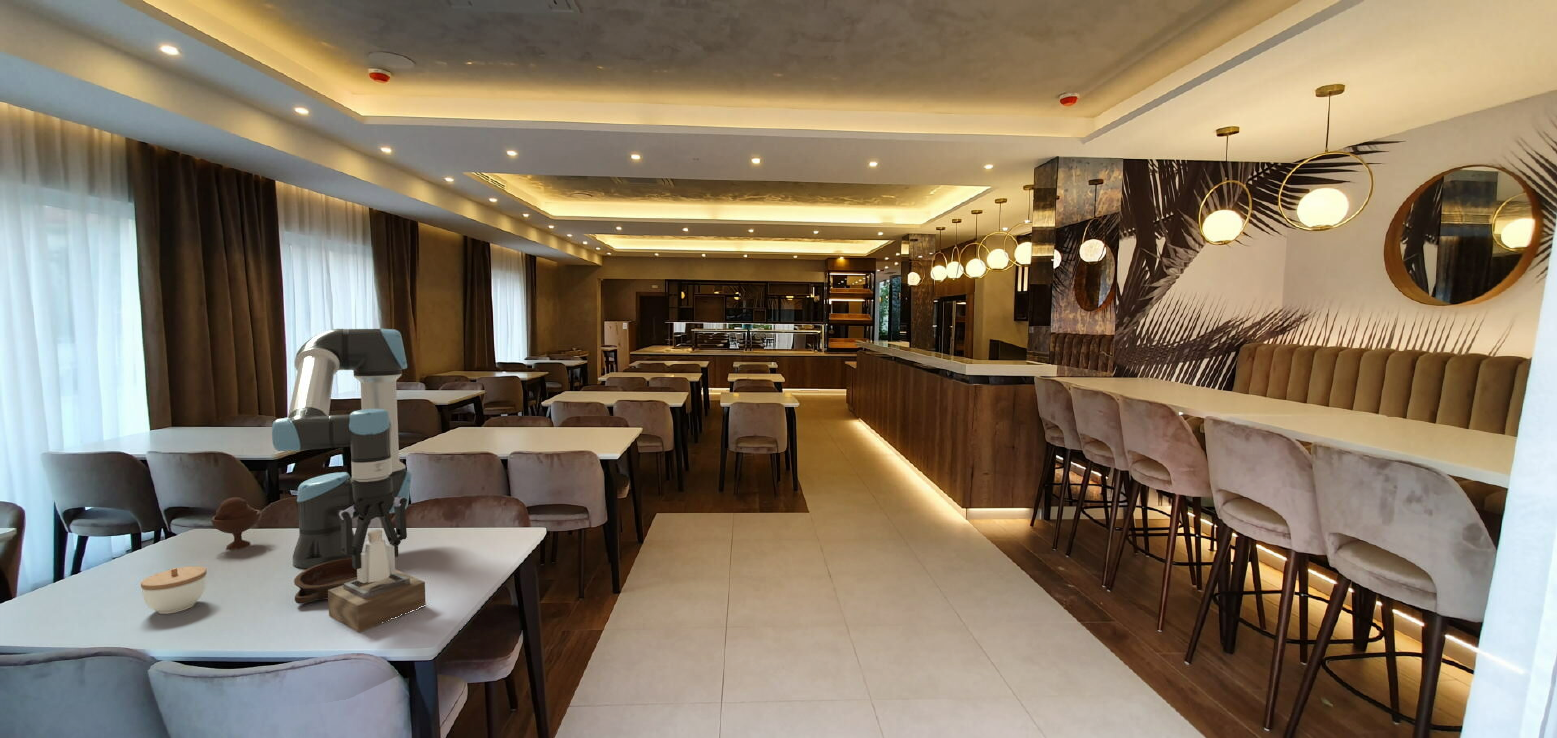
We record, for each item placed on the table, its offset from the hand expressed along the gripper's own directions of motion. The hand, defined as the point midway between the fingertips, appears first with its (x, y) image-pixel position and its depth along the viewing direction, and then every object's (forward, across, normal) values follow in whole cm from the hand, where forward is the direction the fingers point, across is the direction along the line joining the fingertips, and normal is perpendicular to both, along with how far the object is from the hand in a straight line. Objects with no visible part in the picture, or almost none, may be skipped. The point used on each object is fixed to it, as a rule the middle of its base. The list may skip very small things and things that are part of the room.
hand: (376, 576), depth 137 cm
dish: (+9, +1, +21) cm, 23 cm away
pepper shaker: (0, 0, 0) cm, 0 cm away
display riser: (+8, 0, 0) cm, 8 cm away
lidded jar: (+9, -24, +41) cm, 48 cm away
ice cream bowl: (+9, -2, +78) cm, 78 cm away
